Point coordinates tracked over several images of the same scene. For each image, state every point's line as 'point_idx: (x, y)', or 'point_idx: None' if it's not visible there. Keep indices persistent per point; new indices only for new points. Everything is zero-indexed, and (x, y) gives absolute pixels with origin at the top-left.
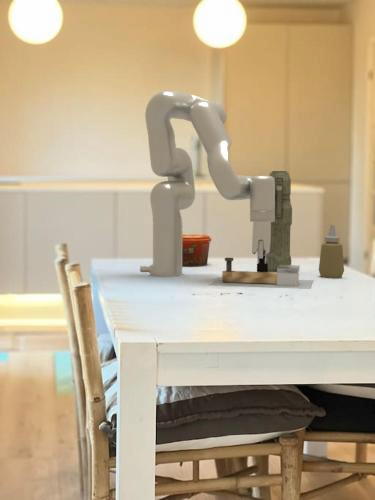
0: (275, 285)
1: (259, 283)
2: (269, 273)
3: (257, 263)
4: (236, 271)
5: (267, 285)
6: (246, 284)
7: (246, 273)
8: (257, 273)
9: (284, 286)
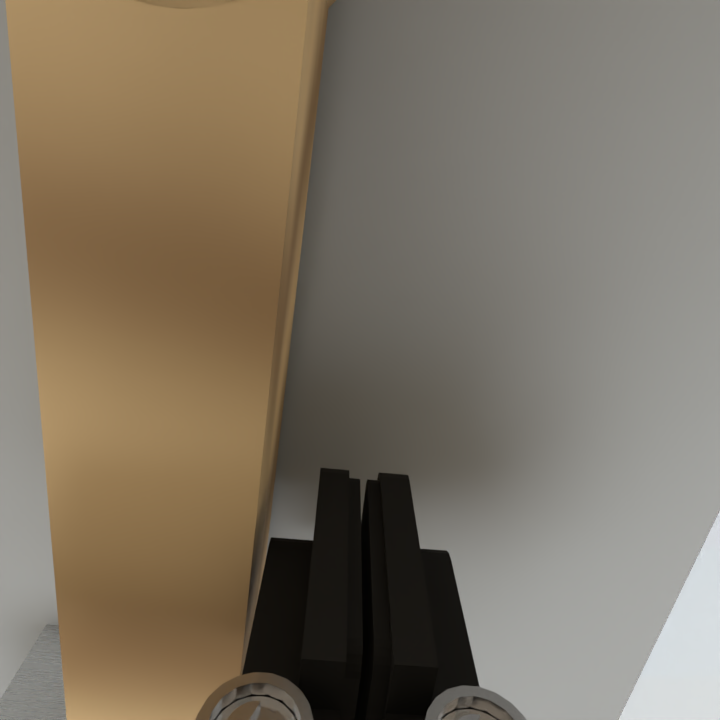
0: (56, 612)
1: None
2: (67, 691)
3: (214, 691)
4: (201, 42)
5: (21, 534)
6: (14, 261)
7: (44, 314)
8: (58, 523)
9: (6, 685)
